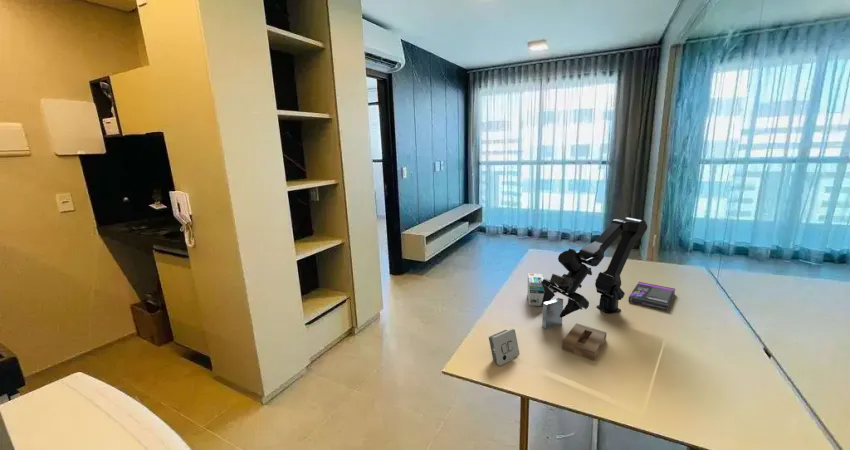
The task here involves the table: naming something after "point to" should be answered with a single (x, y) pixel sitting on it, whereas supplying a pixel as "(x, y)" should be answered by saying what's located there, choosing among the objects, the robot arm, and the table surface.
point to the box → (652, 296)
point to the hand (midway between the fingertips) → (550, 311)
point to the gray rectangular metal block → (552, 313)
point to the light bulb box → (535, 289)
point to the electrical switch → (504, 346)
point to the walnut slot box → (584, 341)
